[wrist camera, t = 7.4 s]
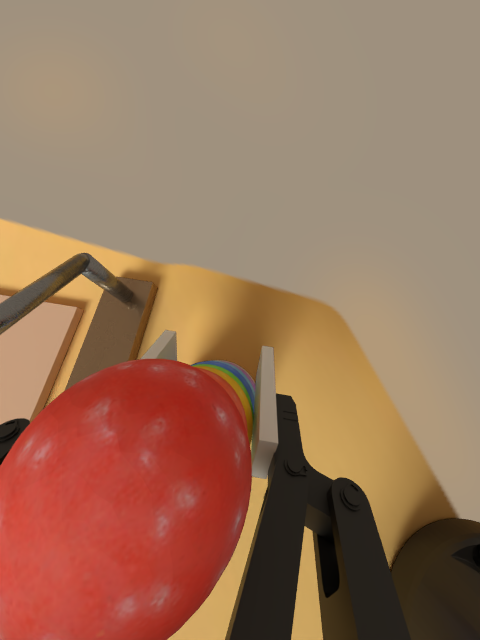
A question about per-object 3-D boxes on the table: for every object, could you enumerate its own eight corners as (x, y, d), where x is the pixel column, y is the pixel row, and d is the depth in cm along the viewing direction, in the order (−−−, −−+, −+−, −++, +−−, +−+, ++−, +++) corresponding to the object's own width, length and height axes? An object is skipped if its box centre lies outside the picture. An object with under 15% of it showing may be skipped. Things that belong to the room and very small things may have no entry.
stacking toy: (199, 349, 22) (37, 199, 4) (269, 378, 21) (441, 343, 3) (163, 426, 20) (-515, 810, 2) (241, 461, 19) (314, 1659, 1)
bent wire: (88, 514, 18) (-336, 885, 5) (33, 503, 18) (-519, 830, 5) (157, 288, 24) (61, 174, 11) (117, 281, 25) (-26, 162, 11)
